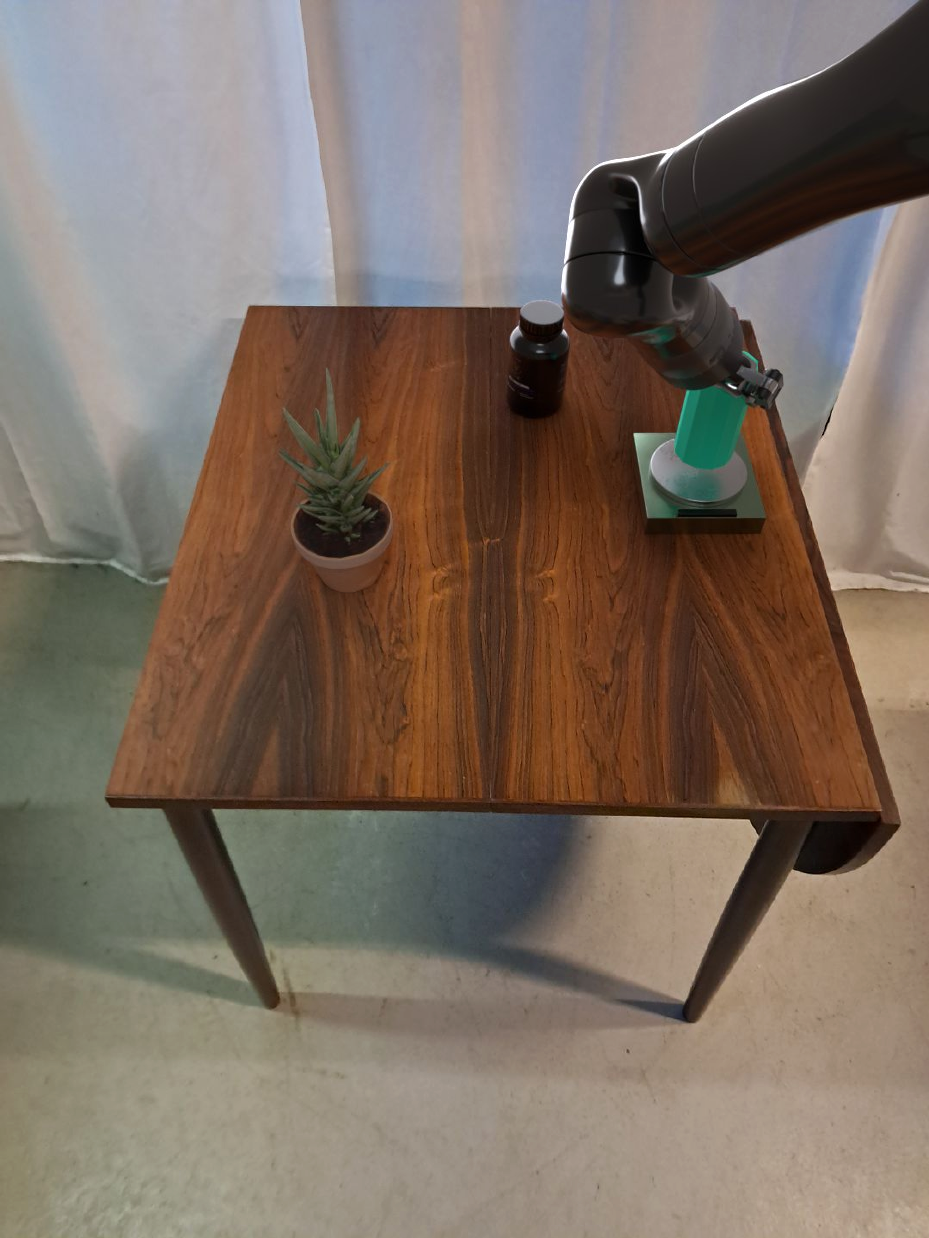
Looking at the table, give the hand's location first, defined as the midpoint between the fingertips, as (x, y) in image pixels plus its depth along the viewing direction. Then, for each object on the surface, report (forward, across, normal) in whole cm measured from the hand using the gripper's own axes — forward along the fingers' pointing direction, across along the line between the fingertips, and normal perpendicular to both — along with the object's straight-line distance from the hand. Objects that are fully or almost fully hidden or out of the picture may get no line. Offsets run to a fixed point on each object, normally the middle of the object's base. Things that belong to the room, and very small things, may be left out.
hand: (728, 383), depth 86 cm
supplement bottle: (+9, +22, +10) cm, 26 cm away
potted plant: (-14, +19, +33) cm, 41 cm away
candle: (+4, 0, +6) cm, 8 cm away
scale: (+8, 0, +10) cm, 13 cm away
